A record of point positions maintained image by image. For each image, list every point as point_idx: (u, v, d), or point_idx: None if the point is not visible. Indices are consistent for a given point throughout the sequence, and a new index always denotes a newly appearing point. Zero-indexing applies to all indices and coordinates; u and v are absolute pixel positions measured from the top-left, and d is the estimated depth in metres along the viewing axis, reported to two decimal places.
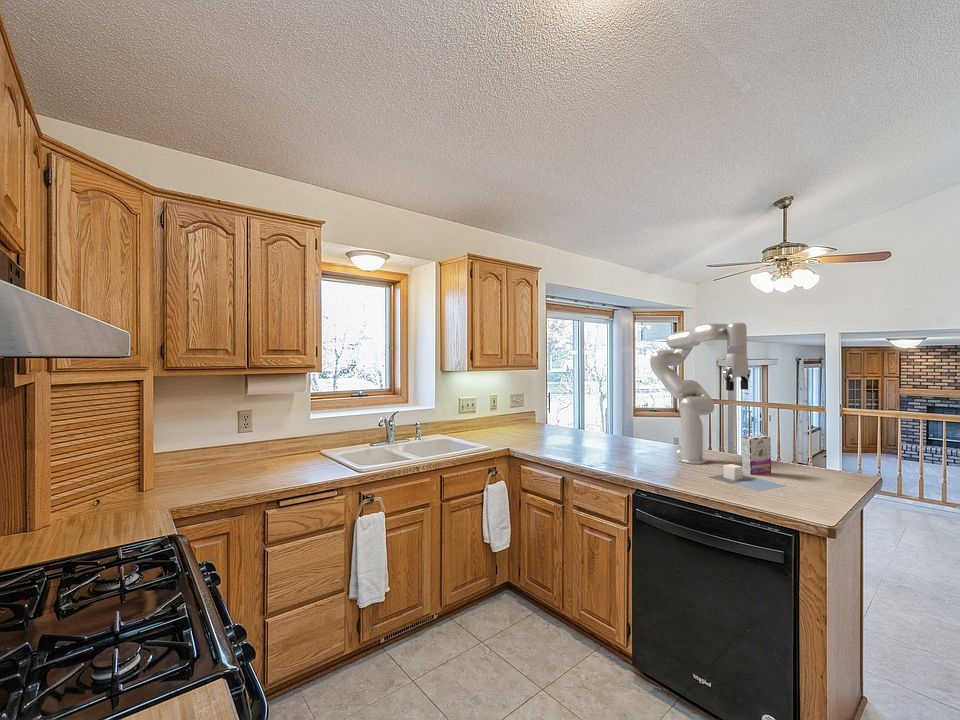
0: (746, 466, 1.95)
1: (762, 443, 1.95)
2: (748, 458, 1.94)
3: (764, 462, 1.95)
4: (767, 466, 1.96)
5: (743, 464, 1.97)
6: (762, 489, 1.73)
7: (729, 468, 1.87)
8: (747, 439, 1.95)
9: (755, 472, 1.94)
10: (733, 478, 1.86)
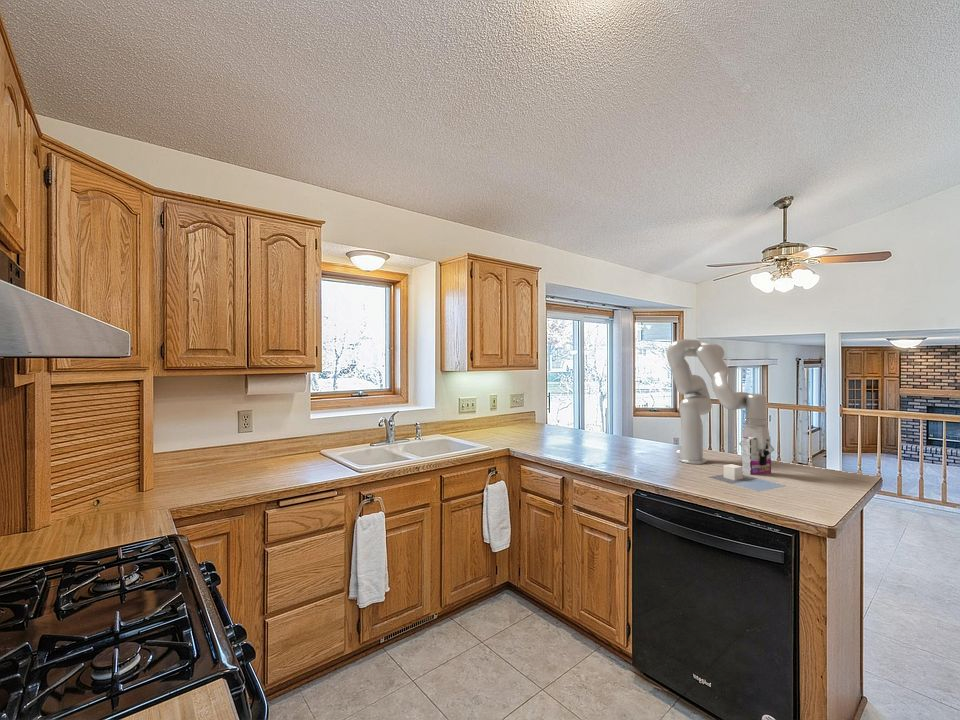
0: (746, 466, 1.95)
1: None
2: (748, 458, 1.94)
3: None
4: (767, 466, 1.96)
5: (743, 464, 1.97)
6: (762, 489, 1.73)
7: (729, 468, 1.87)
8: (747, 439, 1.95)
9: (755, 472, 1.94)
10: (733, 478, 1.86)
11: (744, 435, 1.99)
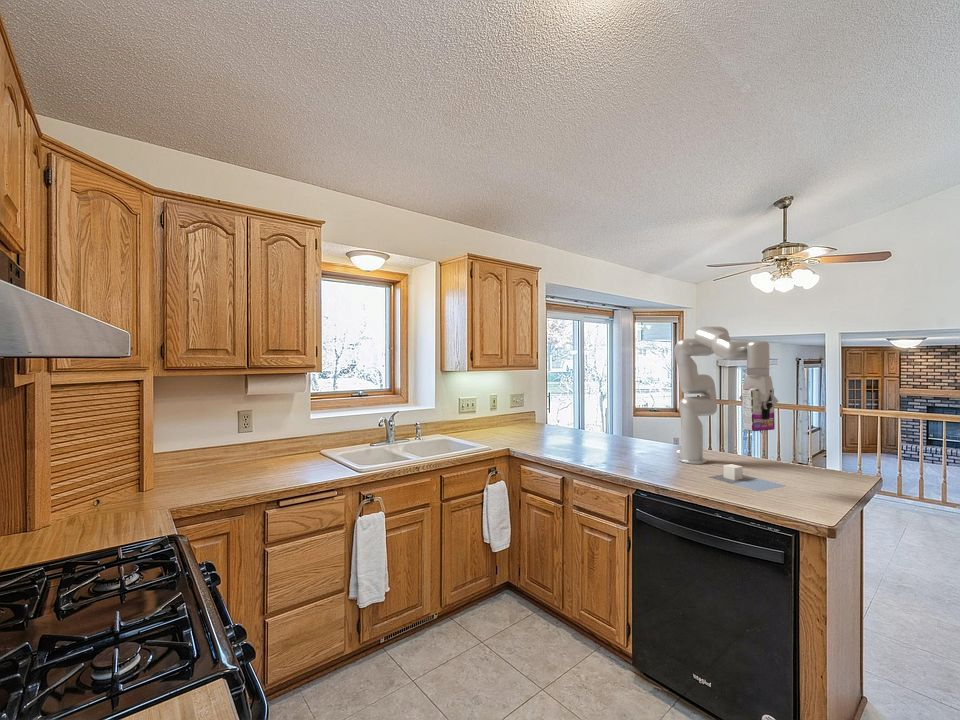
0: (747, 421, 1.77)
1: None
2: (749, 411, 1.76)
3: None
4: (771, 421, 1.77)
5: (744, 419, 1.78)
6: (762, 489, 1.73)
7: (729, 468, 1.87)
8: (748, 390, 1.76)
9: (757, 427, 1.75)
10: (733, 478, 1.86)
11: (745, 387, 1.80)
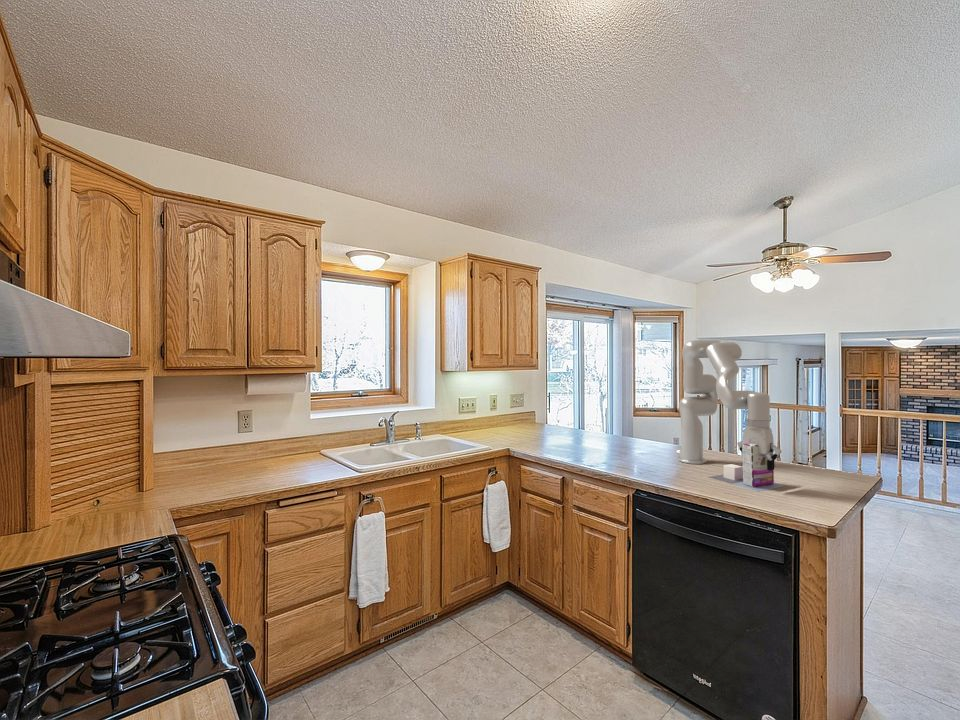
0: (747, 476, 1.77)
1: None
2: (750, 467, 1.76)
3: (766, 471, 1.77)
4: (770, 476, 1.78)
5: (744, 474, 1.79)
6: (762, 489, 1.73)
7: (729, 468, 1.87)
8: (748, 446, 1.77)
9: (757, 482, 1.76)
10: (733, 478, 1.86)
11: (745, 438, 1.81)
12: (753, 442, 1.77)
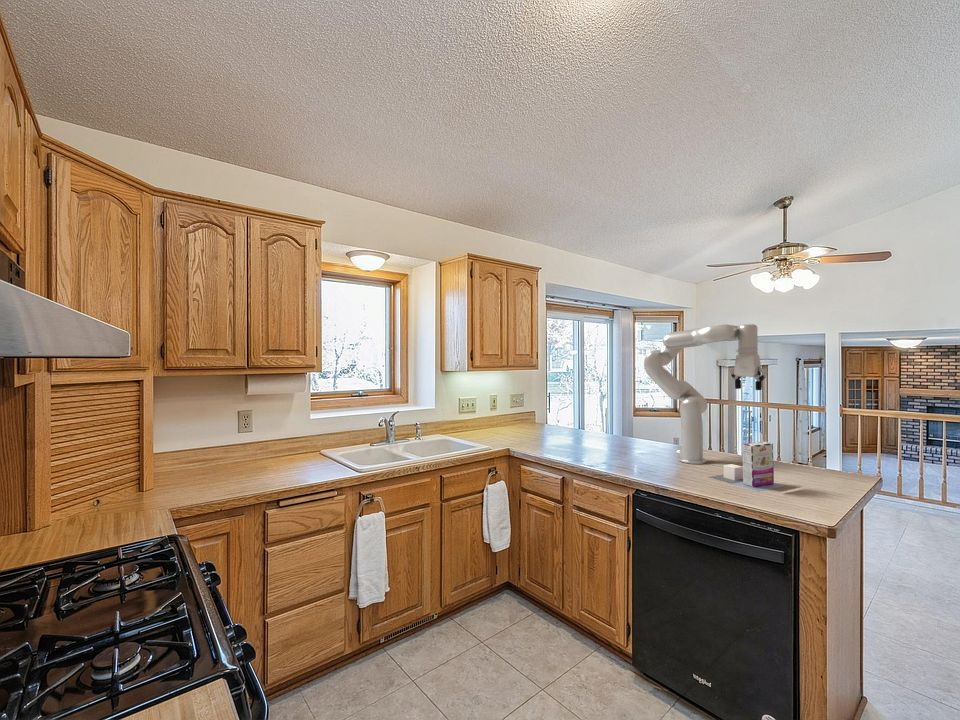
0: (747, 476, 1.77)
1: (764, 450, 1.77)
2: (750, 467, 1.76)
3: (766, 471, 1.77)
4: (770, 476, 1.78)
5: (744, 474, 1.79)
6: (762, 489, 1.73)
7: (729, 468, 1.87)
8: (748, 446, 1.77)
9: (757, 482, 1.76)
10: (733, 478, 1.86)
11: (736, 365, 2.07)
12: (743, 367, 2.04)
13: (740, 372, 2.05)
